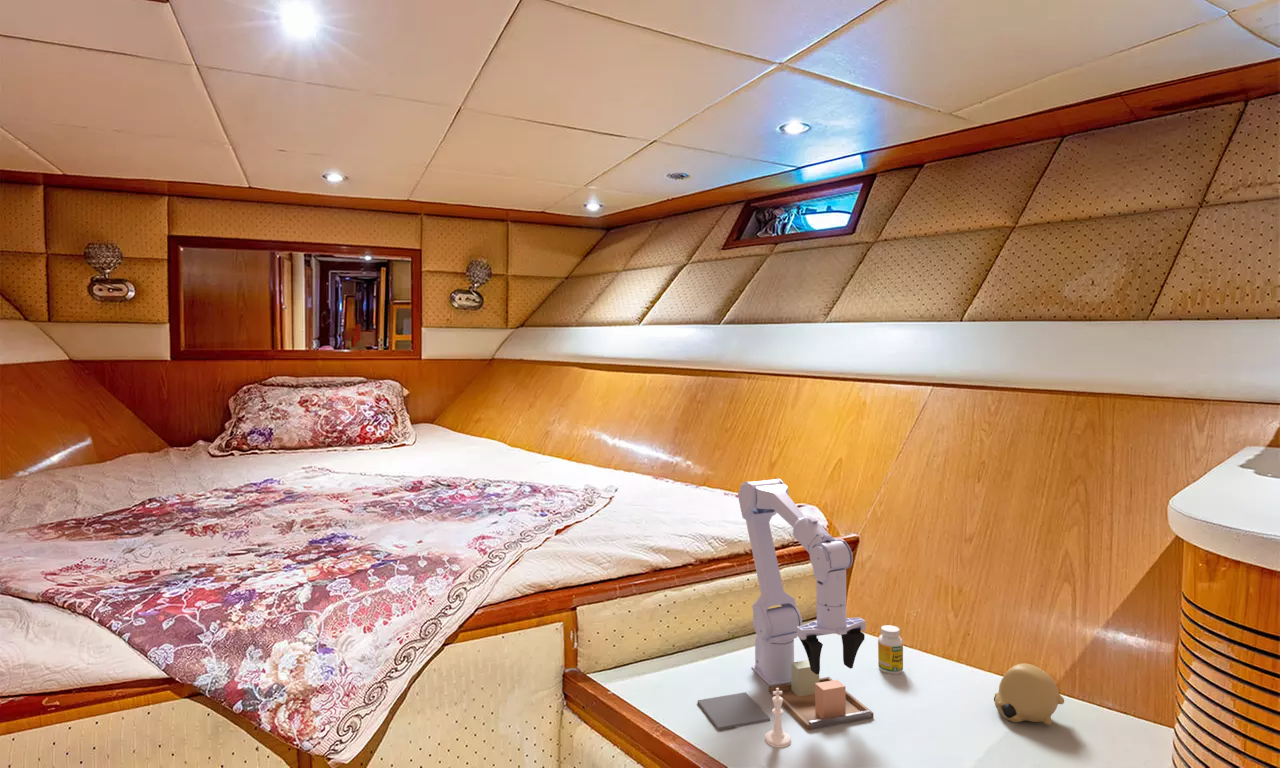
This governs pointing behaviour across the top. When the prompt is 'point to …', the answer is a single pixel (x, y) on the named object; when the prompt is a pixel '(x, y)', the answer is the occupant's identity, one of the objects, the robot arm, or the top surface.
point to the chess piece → (777, 725)
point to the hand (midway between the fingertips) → (831, 669)
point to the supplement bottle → (890, 650)
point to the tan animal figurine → (1027, 695)
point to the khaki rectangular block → (803, 678)
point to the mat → (732, 711)
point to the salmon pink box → (830, 699)
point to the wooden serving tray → (805, 708)
